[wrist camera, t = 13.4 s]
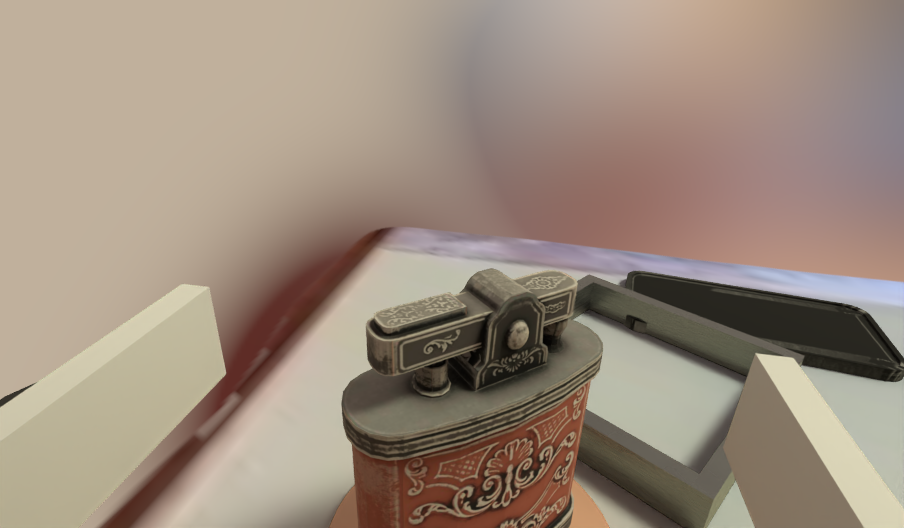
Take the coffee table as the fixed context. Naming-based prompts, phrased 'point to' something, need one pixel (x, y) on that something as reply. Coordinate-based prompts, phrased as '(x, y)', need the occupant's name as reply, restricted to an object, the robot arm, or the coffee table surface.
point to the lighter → (472, 406)
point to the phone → (782, 323)
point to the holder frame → (633, 459)
